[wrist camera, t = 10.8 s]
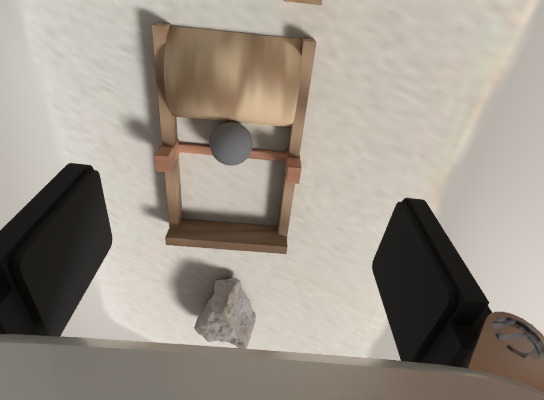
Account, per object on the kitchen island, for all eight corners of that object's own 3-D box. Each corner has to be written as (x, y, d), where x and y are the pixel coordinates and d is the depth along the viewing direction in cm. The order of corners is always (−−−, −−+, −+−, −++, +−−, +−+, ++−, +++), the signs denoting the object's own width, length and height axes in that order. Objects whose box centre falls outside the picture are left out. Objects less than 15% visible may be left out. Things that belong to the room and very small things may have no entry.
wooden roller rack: (172, 17, 32) (141, 28, 25) (310, 31, 33) (320, 46, 25) (183, 201, 43) (163, 247, 36) (285, 209, 44) (287, 257, 36)
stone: (200, 322, 48) (193, 362, 44) (187, 275, 43) (178, 315, 38) (256, 320, 48) (255, 360, 44) (251, 272, 43) (250, 312, 38)
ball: (204, 151, 29) (209, 170, 33) (250, 155, 29) (250, 173, 33) (209, 111, 30) (214, 133, 34) (254, 115, 30) (253, 137, 34)
